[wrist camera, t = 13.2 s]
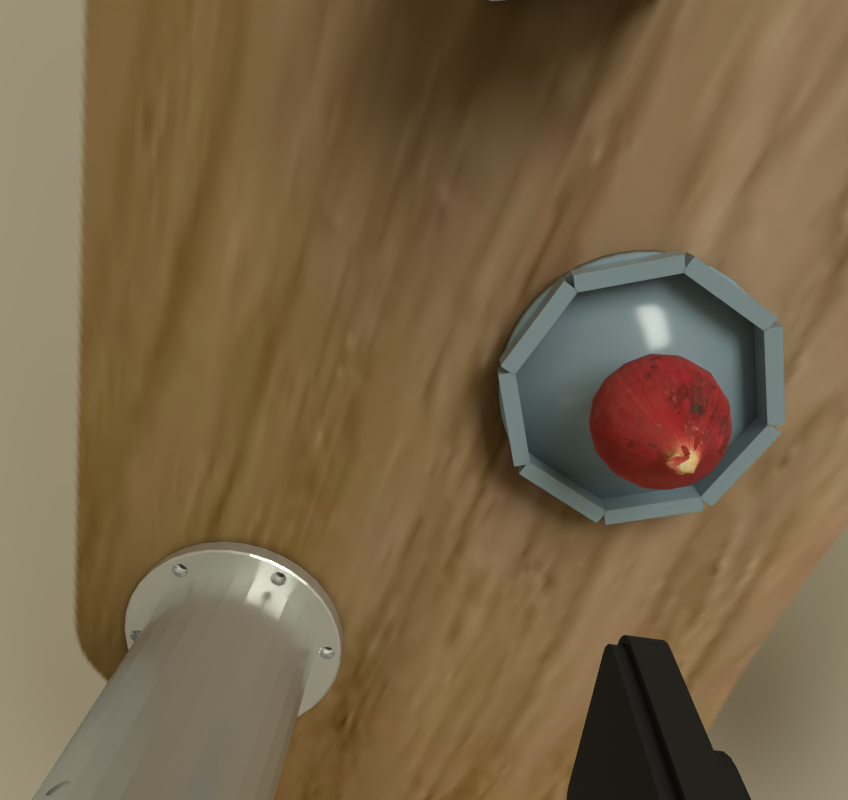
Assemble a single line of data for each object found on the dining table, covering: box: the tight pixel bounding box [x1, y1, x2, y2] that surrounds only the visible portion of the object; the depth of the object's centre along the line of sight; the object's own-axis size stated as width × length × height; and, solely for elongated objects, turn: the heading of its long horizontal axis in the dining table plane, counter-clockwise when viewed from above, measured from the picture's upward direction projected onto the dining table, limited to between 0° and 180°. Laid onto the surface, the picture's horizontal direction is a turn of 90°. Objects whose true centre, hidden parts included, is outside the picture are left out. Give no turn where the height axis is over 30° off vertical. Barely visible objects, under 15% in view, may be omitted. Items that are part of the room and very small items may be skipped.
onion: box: [589, 354, 732, 490], centre depth 30 cm, size 6×6×8 cm
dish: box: [497, 250, 785, 525], centre depth 34 cm, size 13×13×2 cm
